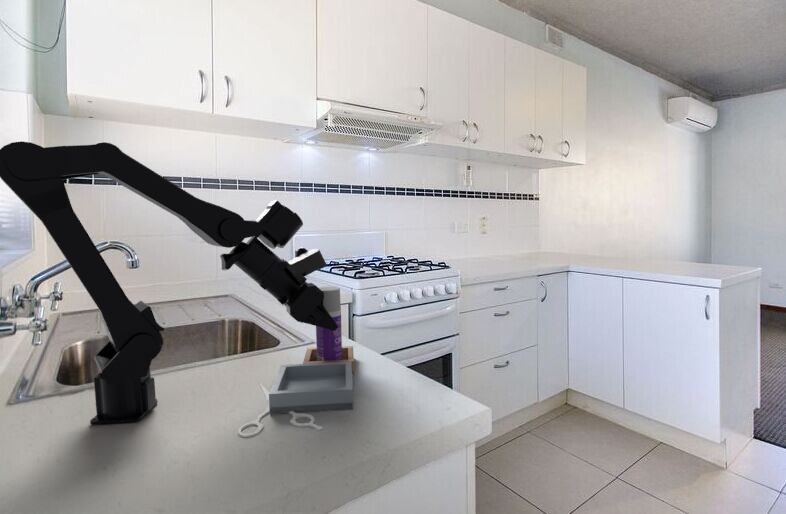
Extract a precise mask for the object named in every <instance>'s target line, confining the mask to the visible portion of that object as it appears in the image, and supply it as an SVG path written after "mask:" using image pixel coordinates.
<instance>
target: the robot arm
mask: <svg viewBox="0 0 786 514" xmlns="http://www.w3.org/2000/svg"><path fill="white" fill-rule="evenodd" d="M93 175H94V176H96V175H103V176H105V177H106V178H109V180H112V181H114V182H115V183H117V184H119V185H121V186H122V187H124V188H126V189H128V190H129V191H131V192H132V193H135V194H137V195H138V196H139V197H142V199H143V198H144V199H146V201H148V202H150V203H152V204H154V205H156V206H158V207H159V208H161V209H162V210H164V211H166V212H167V213H169V214H171V215H172V216H175V217H176V218H178V219H179V220H180V221H181V222H183V223H184V224H185V225H186V226H187V227H188V228H189V229H190V230H191V231H192V232H193V233H194V234H196V235H197V236H198V237H199V238H201V239H202V240H203V241H204V242H205V243H206V244H208V245H211V246H215V247H222V248H226V249H227V248H229V249H230V248H232V249H231V251H230V252H228V253H222V254H221V253H220V256H219V257H220V259H221V260H220V261H221V270H222V271H228V270H230V269H231V268H232V267H233V266H234V265H235V266H236V267H238V269H240V270H241V271H242V272H243V273H244V274H246V275H247V276H248V277H249V278H250V279H252V280H253V281H254V282H255V283H257V284H258V285H259V287H260V288H262V289H263V290H265V291H266V292H268V293H269V294H270V295H271V296H273V298H275V299H276V300H277V301H278V302H279V304H281V305H283V306H285V307H286V312H287V314H288V315H290V317H291V318H293V320H295V321H296V322H298V323H301V324H307V325H310V326H311V325H312V326H314V327H316V326H318V327H322V328H325V329H329V330H332V331H335V330H336V329H337V328H338V325H337V324H336V322H335V321H334V320H333V318H332V317H331V315H330V314H329V313H328V311H327V310H326V309H325V307H324V305H323V303H324V298H325V296H324V292H323V291H321V290H320V289H319V288H320V287H318V285H315V284H314V283H313V282H308V281H307V280H308V278H306V277H307V276H309V275H310V274H312V273H314V272H315V271H317V270H320V269H324V268H326V267H327V261H326V259H324V256H323V254H322V252H321V250H320V249H318V248H316V247H315V248H310V249H309V250H307V249H306V248H305V247H302V246H301V247H299V248H296V249H295V251H294V257H293V258H292V259H290V260H289V261H287V260H286V259H284V258H280V257H279V256H278V255H277V254H276V253H274V251H272V250H275V249H276V248H279V249H284V248H285V246H286V245H287V244H288V243H289V242H290V241H291V240H292V239H293V237H294V236H295V235H296V234H297V233H298V232H299V230H300V229H301V228H302V227H303V225H304V223H303V220H302V218H301V217H300V216H299V214H297V212H294V211H293V210H291V209H290V208H289V207H287V206H285V205H284V204H281V202H280V201H279V200H272V201H271V202H270V203H268V205H267V207H266V208H265V210H263V211H262V213H261V214H259V216H258V217H257V218H256V219H252V220H251V219H250V220H246V219H244V218H243V217H242V215H240V214H239V213H237V212H235V211H233V210H230V209H228V208H225V207H223V206H221V205H218V204H214V203H212V202H209V201H205V200H203V199H200V198H198V197H196V196H194V195H192V194H191V193H189V192H188V191H186V190H184V189H183V188H182V187H180V186H178V185H176V184H175V183H173V182H172V181H170V180H168V179H167V178H165V177H164V176H162V175H160V174H159V173H157V172H155V171H154V170H152V169H151V168H149V167H147V166H146V165H144V164H143V163H141V162H139V161H138V160H137V159H135V158H133V157H131V156H130V155H128V154H126V153H125V152H124V151H122V150H121V149H120V147H118V146H117V145H114V144H113V143H111V142H99V143H98V142H97V143H95V144H83V145H82V144H81V145H57V146H48V147H47V146H46V147H44V146H41V145H39V144H36V143H33V142H28V141H15V142H14V141H13V142H10V143H7V144H5V145H3V146H2V147H1V148H0V179H1V181H2V182H3V183H4V184H5V185H6V186H7V187H8V188H9V189H10V190H11V191H12V192H13V193H14V195H16V197H18V198H19V200H21V202H22V203H23V204H24V205H25V206H26V207H27V208H28V209H29V211H31V212H32V214H34V215H35V216H36V217H37V218H38V220H40V222H41V223H42V225H43V226H44V227H45V229H46V231H47V232H48V233H49V235H50V237H51V238H52V240H53V241H54V243H55V244H56V246H57V247H58V249H59V250H60V252H61V253H62V255H63V257H64V258H65V260H66V261H67V263H68V264H69V266H70V267H71V269H72V270H73V272H74V274H75V275H76V277H77V278H78V279H79V281H80V283H81V284H82V286H83V287H84V289H85V290H86V292H87V293H88V295H89V297H90V298H91V300H92V301H93V302H94V305H96V307H97V309H98V312H99V315H100V318H101V321H102V324H103V326H104V329H105V332H106V334H107V337H108V339H109V340H108V341H107V342H106V343H105V344H103V346H102V348H100V349H99V350H98V352H97V353H96V354H94V355H93V359H94V361H95V363H96V365H97V368H98V369H99V372H100V373H98V374H97V375H95V376H93V386H94V396H95V397H94V398H95V399H94V400H95V409H96V415H95V416H94V417H92V418H91V419H90V420H89V422H90V423H89V424H90V425H100V424H118V423H119V424H121V423H136V422H139V421H140V420H142V419H143V418H144V417H145V416H146V415H147V414H148V413H149V412H150V411H151V410H152V409H153V408H154V406H156V405H157V404H158V398H157V397H156V383H155V378H154V377H151V376H152V375H151V365H152V361H153V360H154V359H155V358H157V357H158V355H159V354H160V353H161V350H162V348H163V346H164V339H163V336H162V333H161V332H164V331H165V328H164V327H163V326H162V325H160V324H159V323H158V322H157V319H156V318H155V316H154V313H153V310H152V308H151V305H148V304H147V303H146V302H144V301H143V300H139V301H138V302H137V303H135V304H134V303H133V302H132V301H131V300H130V299H129V297H128V296H127V295H126V293H125V292H124V290H123V288H122V287H121V285H120V283H119V282H118V281H117V278H116V277H115V275H114V274H113V272H112V271H111V269H110V268H109V266H108V264H107V263H106V261H105V260H104V258H103V256H102V254H101V252H100V251H99V249H98V248H97V246H96V245H95V243H94V241H93V240H92V238H91V236H90V235H89V233H88V232H87V230H86V229H85V227H84V225H83V223H82V222H81V221H80V219H79V217H78V215H77V214H76V212H75V211H74V208H73V207H72V204H71V201H70V198H69V195H68V190H67V188H66V185H65V182H64V180H71V179H75V178H76V179H77V178H82V177H88V176H89V177H90V176H93ZM248 238H250V239H249V240H247V241H246V242H245V241H244V240H245V239H248Z"/></svg>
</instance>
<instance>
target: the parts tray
mask: <svg viewBox="0 0 786 514" xmlns="http://www.w3.org/2000/svg"><path fill="white" fill-rule="evenodd" d="M278 369H279V370H278V371H277V373H276V376H275V379H274V381H273V384H272V386H271V388H270V391H269V392H270V393H269V403H268V404H269V409H270V413H269V414H270V415H276V414H279V415H280V414H290V413H289V411H294V412H295V413H309V412H311V413H312V412H326V411H341V410H342V411H343V410H353V409H354V396H353V395H354V393H353V392H354V391H353V390H354V389H353V375H352V366H351V362H332V363H311V364H303V363H294V364H293V363H292V364H280V367H279V368H278Z"/></svg>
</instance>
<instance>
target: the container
mask: <svg viewBox="0 0 786 514" xmlns="http://www.w3.org/2000/svg"><path fill="white" fill-rule="evenodd" d="M318 288H319V289H320V290H321V291H323V292H324V296H325V298H324V303H323V305H324V307H325V309H326V310H327V311H328V313H329V314H330V315H331V317H332V318H333V320H334V321H335V322H336V324H337V325H338V328H337V329H336V330H335V331H332V330H329V329H325V328H322V327H318V326H315V337H316V339H315V340H316V348H317V361H331V360H342V346H343V339H342V337H343V336H342V334H343V333H342V307H341V306H342V305H341V288H340V287H339V286H322V287H318Z"/></svg>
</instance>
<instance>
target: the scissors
mask: <svg viewBox="0 0 786 514" xmlns="http://www.w3.org/2000/svg"><path fill="white" fill-rule="evenodd" d="M259 384H260V387H261V390H262V392H263V395H264V397H265V399H266V401H267V407H266V409H265V410H264V412H263V413H261V414H258V415H257V416H256V417H257V418H256V419H255V420H252V421H250V422H247V423H245V424H243V425H242V426H240V427H239V428H238V429H237V435H238V436H240V437H241V438H252V437H254V436H256V435H258V434H259V433H261V431H263V429H264V427H265V425H264V424H262V423H261V422H260V421H261V419H263V418H264V417H266V415H268V414H270V409H269V393H270V391H269V390H268V389H267V388H266V387H265V386H264V385H263V384H262V383H259ZM288 414H290V415H291V416H292V418H291V419H290V420H289V423H290V425H293V426H295V427H298V428H299V427H300V428H305V427H311V428H314V429H315V430H316V431H322V429H323V427H322V426H320V425H317V424H316V423H315V417H314V416H313V415H311V414H308V413H300V412H294V411H289V413H288ZM298 418H308V419H309V420H310V421H308V422H305V423H299V422H297V421H296V420H297V419H298ZM250 426H251V427H252V426H256V427H257V428H256V430H254V431H253V432H251V433H243V432H242V431H243V430H244V429H246V428H247V427H250Z"/></svg>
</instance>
